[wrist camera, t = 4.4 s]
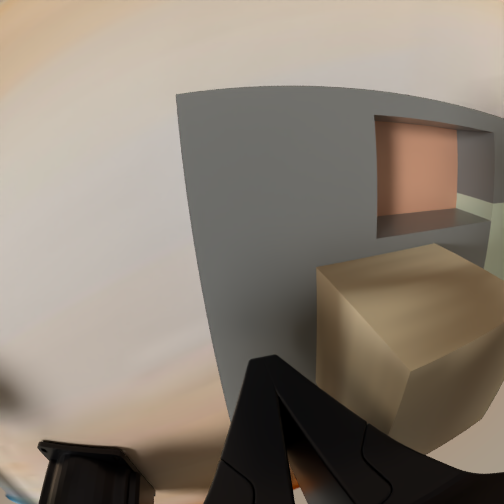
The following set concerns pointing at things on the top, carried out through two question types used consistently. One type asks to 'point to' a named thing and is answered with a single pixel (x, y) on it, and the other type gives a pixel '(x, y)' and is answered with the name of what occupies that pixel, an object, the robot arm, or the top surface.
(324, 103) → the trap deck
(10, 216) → the top surface
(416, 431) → the maple block
